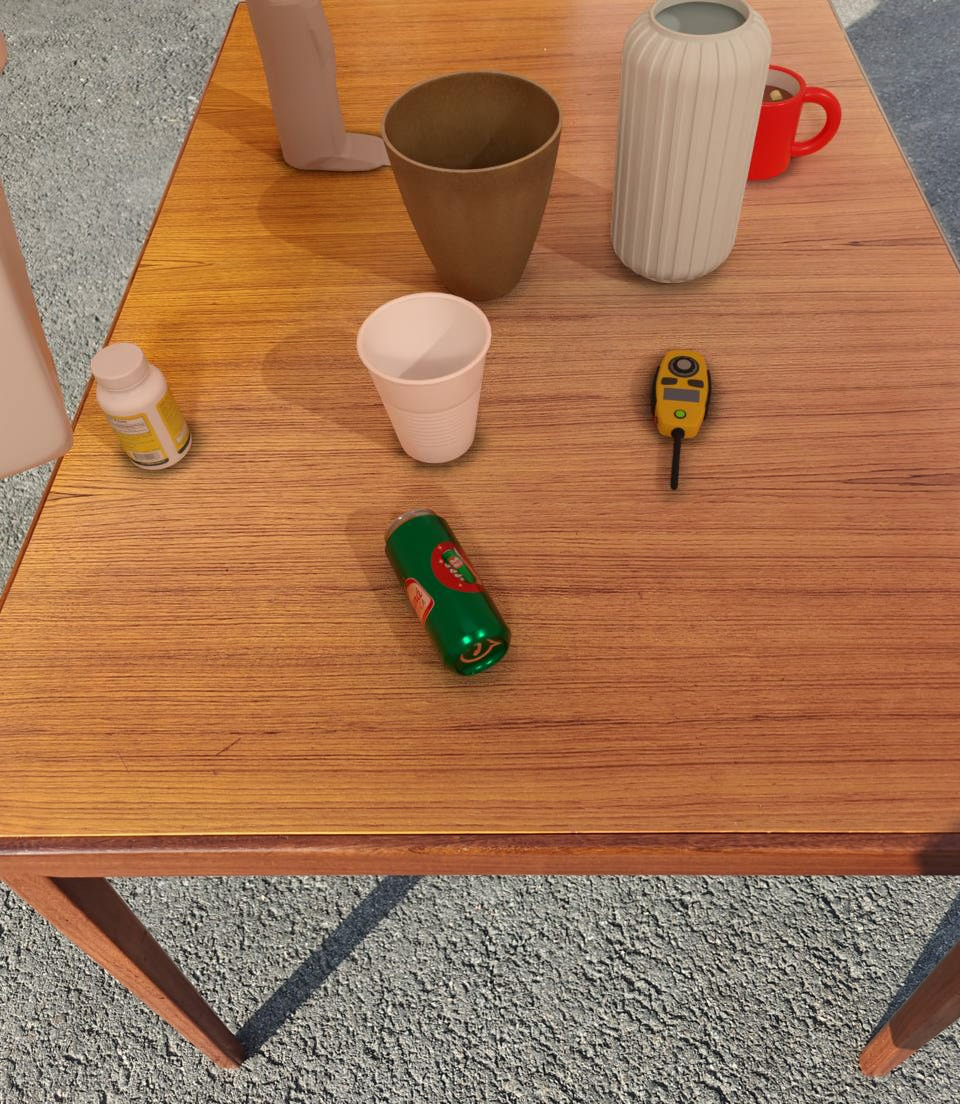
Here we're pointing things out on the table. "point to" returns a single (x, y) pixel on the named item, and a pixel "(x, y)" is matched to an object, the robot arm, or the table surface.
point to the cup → (428, 370)
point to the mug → (788, 122)
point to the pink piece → (308, 88)
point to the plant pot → (475, 172)
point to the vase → (686, 134)
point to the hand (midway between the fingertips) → (39, 390)
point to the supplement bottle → (140, 407)
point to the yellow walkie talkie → (680, 399)
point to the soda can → (446, 593)
